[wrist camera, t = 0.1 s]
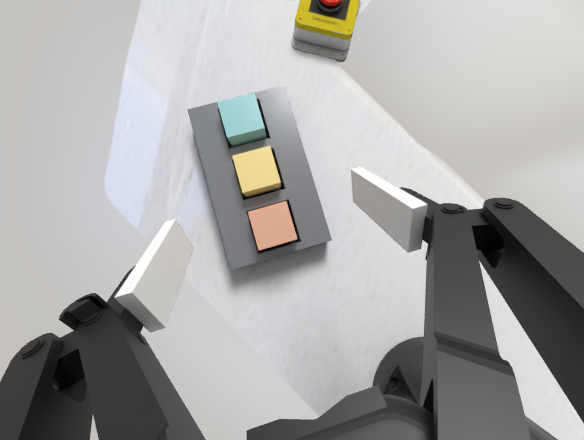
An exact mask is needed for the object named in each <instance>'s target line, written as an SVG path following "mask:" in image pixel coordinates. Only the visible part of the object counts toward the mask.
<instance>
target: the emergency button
mask: <svg viewBox="0 0 584 440" xmlns="http://www.w3.org/2000/svg"><path fill="white" fill-rule="evenodd" d="M359 2H360V0H300V2H299V6H298V10H297V14H296V19H295V28H294V34H293V38H292V46H293V48H295V49H298V50H302V51H306V52H310V53H314V54H319V55H323V56H327V57H331V58H335V59H336V61H337V62H344V61H345V60H346V58H347V54H348V50H349V46H350V41H351V37H352V33H353V29H354V24H355V20H356V15H357V11H358V6H359Z"/></svg>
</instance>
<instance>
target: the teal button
mask: <svg viewBox="0 0 584 440" xmlns="http://www.w3.org/2000/svg"><path fill="white" fill-rule="evenodd" d="M217 103H218V107H219V110H220V114H221V117H222V121H223V125H224V128H225V132H226V135H227V138H228V140H229V142H230V143H231V145H232V147H233V148H234V147H238V146H242V145H245V144H249V143H253V142H257V141H260V140H264V139H267V137H266V132H265V127H264V124H263V120H262V117H261V113H260V110H259V107H258V103H257V100H256V96H255V93H251V94H247V95H243V96H239V97H235V98H231V99H227V100H223V101H219V102H217Z"/></svg>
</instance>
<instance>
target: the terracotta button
mask: <svg viewBox="0 0 584 440" xmlns="http://www.w3.org/2000/svg"><path fill="white" fill-rule="evenodd" d="M248 214H249V218H250V221H251V225H252V228H253V232H254V236H255V239H256V243H257V246H258V250H262V249H266V248H269V247H273V246H276V245H279V244H283V243H286V242H289V241H293V240H296V239H297V235H296V232H295V229H294V225H293V222H292V219H291V215H290V212H289V208H288V205H287V202H286V201H284V202H281V203H277V204H274V205H270V206H267V207H263V208H260V209H256V210H253V211H249V212H248Z"/></svg>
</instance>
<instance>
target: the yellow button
mask: <svg viewBox="0 0 584 440" xmlns="http://www.w3.org/2000/svg"><path fill="white" fill-rule="evenodd" d="M232 157H233V160H234V164H235V168H236V171H237V175H238V178H239V182H240V186H241V189H242V193H243V194H244V195H245V196H246V197H251V196H254V195H258V194H261V193H265V192H269V191H272V190H276V189H279V188H281V181H280V178H279V174H278V171H277V168H276V164H275V161H274V157H273V154H272V151H271V147H270V146H267V147H263V148H259V149H256V150H252V151H248V152H245V153H241V154H237V155H233V156H232Z"/></svg>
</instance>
